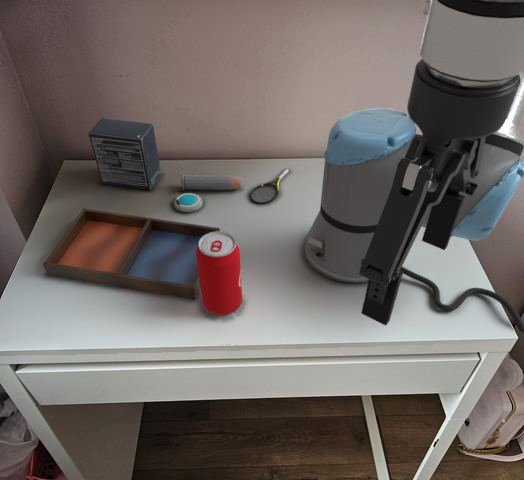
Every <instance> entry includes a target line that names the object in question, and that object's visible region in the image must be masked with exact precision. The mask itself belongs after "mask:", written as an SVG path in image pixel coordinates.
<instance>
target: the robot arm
mask: <svg viewBox="0 0 524 480" xmlns="http://www.w3.org/2000/svg"><path fill="white" fill-rule="evenodd" d="M422 14H423V15H424V16H426V21H425V26H424V30H423V34H422V39H421V43H420V49H419V55H420V58H421V59H420V60H419V61H418V62H417V63H416V65H415V68H414V72H413V76H412V81H411V86H410V90H409V95H408V100H407V107H406V110H407V113H406V112H404V111H401V110H398V109H393V108H384V107H375V108H374V107H373V108H365V109H360V110H357V111H353V112H350V113H348V114H346V115H344V116H342V117H341V118H339V119H338V120H336V122H335V123H334V124H333V125H332V126H331V128H330V130H329V134H328V139H327V143H326V149H325V152H324V167H323V177H322V185H321V186H322V187H321V195H320V197H321V198H320V207H319V211H318V213H317V215H316V217H315V219H314V221H313V223H312V225H311V227H310V229H309V231H308V232H307V235H306V239H305V245H304V253H305V257H306V260H307V263H309V265H310V266H311V267H312V268H313V269H314V270H315V271H317V272H318V273H319V274H321V275H322V276H324V277H326V278H329V279H331V280H334V281H338V282H341V283H348V284H360V283H367V284H366V285H367V286H366V290H365V295H364V298H363V299H364V300H363V304H362V308H361V314H362V315H364V316H365V317H367V318H369V319H371V320H373V321H375V322H378V323H379V324H381V325H383V326H387V325H388V323H389V322H390V320H391V317H392V313H393V310H394V307H395V303H396V299H397V296H398V292H399V289H400V285H401V281H402V278H403V275H405V276H407V277H409V278H411V279H413V280H414V281H415V280H416V281H417V282H420V283H422V284H424V285H426V286H427V287H428V288H430V290H432V293H433V303H434V305H435V307H436V308H438V309H439V310H441V311H445V312H453V311H455V310H457V309H458V308H460V307H461V306H462V304H463V303H464V302H465V300H467V298H469V297H470V296H471V295H473V294H476V295H477V294H479V295H483V296H486V297H488V298H492V299H493V300H495V301H497V302H498V303H500V304H501V305H502V306H503V307H504V308H505V310H507V312H508V313H509V315H510V316H511V318H512V319H513V321H514V322H515V325H516V327H517V329H518V331H520V332H521V333H524V321H523V320H522V318H521V317H520V315H519V313H518V311H517V310H516V309H515V307H514V306H513V305H512V304H511V303H510V302H509V301H508V300H507V299H506V298H505V297H503V296H502V295H500V294H499V293H497V292H495V291H492V290H489V289H486V288H481V287H470V288H468V289H466V290H465V291H463V293H461V295H460V296H459V297H458V299H457V300H455V302H454V303H452V304H444V303H442V301H441V295H440V294H441V293H440V289H439V287H438V285H437V284H436V283H435V282H433V281H432V280H431V279H429V278H427V277H424V276H423V275H420V274H418V273H415V272H414V271H412V270H409V269H408V268H405V267H404V266H403V265H404V263H405V261H406V259H407V257H408V256H409V253H410V251H411V249H412V246H413V245H414V243H415V241H416V239H417V237H418V234H419V232H420V231H421V228H424V232H423V236H422V238H421V241H422V242H423V243H426V244H428V245H430V246H433V247H435V248H437V249H440V250H444V251H445V250H446V249H447V247H448V245H449V243H450V240H451V238H452V237H455V238H461V239H464V240H468V241H471V242H478V241H483V240H484V239H486V238H488V237H489V236H490V234H491V233H492V231H493V230H494V228H495V226H497V223H498V221H500V218H501V216H502V215H503V213H504V212H505V210H506V208H507V206H508V205H509V203H510V201H511V199H512V198H513V195H514V194H515V192H516V190H517V189H518V187H519V185H520V183H521V181H522V180H523V177H524V157H521V155H522V153H523V151H524V138H523V136H522V134H521V132H520V127H521V124H522V121H523V119H524V0H426V1H425V3H424V4H423V6H422ZM416 126H417V127H418V128H419V130H420V132H421V134H419V133H417V127H416Z"/></svg>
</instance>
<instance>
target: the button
mask: <svg viewBox="0 0 524 480" xmlns="http://www.w3.org/2000/svg"><path fill="white" fill-rule="evenodd" d="M203 204H204V201H203V199H202V197H201V196H200V195H198V194H197V193H193V192H186V193H185V192H184V193H182V194H179V195H178V196H177V197H176V198H175V199H174V200H173V207H174V208H175V209H176V210H177V211H178V212H182V213H192V212H196V211H198V210H200V209H201V208H202V207H203Z"/></svg>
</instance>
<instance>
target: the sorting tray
mask: <svg viewBox="0 0 524 480" xmlns="http://www.w3.org/2000/svg"><path fill="white" fill-rule="evenodd" d="M211 232H221V227H215V226H210V225H209V226H208V225H202V224H194V223H187V222H181V221H174V220H166V219H160V218H153V217H146V216H140V215H132V214H126V213H125V214H124V213H118V212H113V211H112V212H111V211H106V210H105V211H104V210H97V209H92V208H85V207H84V208H82V210H81V211H80V212H79V214H78V215H77V216H76V218H75V219H74V221H73V222H72V223H71V225H70V226H69V227H68V228H67V230H66V231H65V233H64V234H63V236H62V237H61V238H60V240H59V241H58V242H57V244H56V245H55V247H54V248H53V249H52V250H51V252H50V253H49V255H47V257H46V259H45V260H44V261H43V263H42V267H43V269H44V272H45V273H46V275H47V276H49V277H54V278H61V279H66V280H72V281H78V282H84V283H91V284H96V285H103V286H108V287H109V286H110V287H115V288H121V289H126V290H127V289H128V290H133V291H139V292H144V293H151V294H156V295H162V296H163V295H164V296H169V297H176V298H181V299H186V300H187V299H188V300H193V301H196V298H197V296H198V294H199V291H200V282H199V275H198V267H197V259H196V250H197V247H198V244H199V240H200V239H201V238H202V237H203V236H204V235H206V234H208V233H211Z"/></svg>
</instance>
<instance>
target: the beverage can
mask: <svg viewBox="0 0 524 480" xmlns="http://www.w3.org/2000/svg"><path fill="white" fill-rule="evenodd" d="M196 259H197V267H198V275H199V282H200V289H199V291H200V295H201V297H200V298H201V304H202V306H203V308H204V310H205V311H207V312H208V313H210V314H212V315H215V316H227V315H231V314H234V313H235V312H237V311H238V310H239V309H240V307H241V306H242V303H243V288H242V287H243V285H242V264H241V263H242V262H241V248H240V247H239V245H238V243H237V241H236V239H235V237H234V236H233V235H231V234H230V233H229V232H225V231H220V232H211V233H208V234H206V235H204V236H203V237H202V238H201V239H200V240H199V244H198V247H197V250H196Z"/></svg>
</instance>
